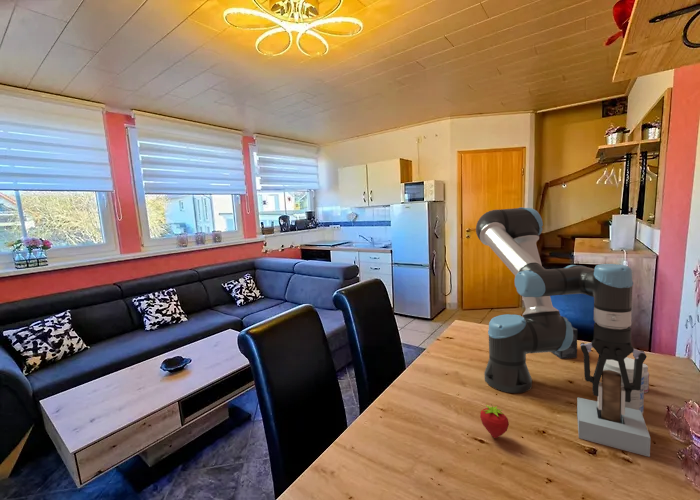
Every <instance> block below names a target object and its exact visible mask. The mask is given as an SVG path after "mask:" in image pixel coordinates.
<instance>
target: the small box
mask: <svg viewBox="0 0 700 500" xmlns="http://www.w3.org/2000/svg"><path fill="white" fill-rule="evenodd" d="M572 329H573V341H572V343H571V345H570V347H569V348H568V349H566V350H563V351H557V352H551V353H552V354H553V355H554V356H556V357H558V358H559V359H561V360H563V359H564V360H565V359H577V358H578V328H575V327H574V326H572Z"/></svg>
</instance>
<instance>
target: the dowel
mask: <svg viewBox="0 0 700 500" xmlns="http://www.w3.org/2000/svg"><path fill="white" fill-rule="evenodd" d="M601 383H602V410H601V419H603V420H608V421H612V422H616V423H620V419H621V374H619V373H617V372H615V371H611V370H603V372H602V375H601Z"/></svg>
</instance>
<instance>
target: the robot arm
mask: <svg viewBox="0 0 700 500" xmlns="http://www.w3.org/2000/svg"><path fill="white" fill-rule="evenodd" d="M543 226H544V223H543V219H542V216H541V214H540V213H539V211H537V210H536V209H534V208H532V207H516V208H505V209H504V208H503V209H491V210H489V211H486V212H485V213H483V214H482V215H481V216H480V218H479V219H478V221H477V223H476V225H475V234H476V236H477V238H478V240H479V241H480V242H481V243H482V245H484V246H488V247H489V248H490V249H491V250H492V251H493V252H494V254H495V255H496V256H497V257H498V258H499V259H500V261H502V263H503V264H504V265H505V266H506V268H508V270H509V271H510V272H511V273H512V274H513V275H514V287H515V288H516V292H517V294H518V295H520V296H521V297H522V299H523V304H524V307H525V310H524V312H523V313H522V316H521V315H520V314H519V315H518V314H509V313H508V314H507V313H505V314H500V315H497V316H494V317H492V318H491V319H490V321H489V322H488V330H487V335H488V354H489V356H488V357H489V359H488V362H487V363H486V364H487V365H486V367H485V369H484V374H483V375H484V381H485V383H486V382H487V383H488V384H489V385H488V384H487V383H486V384H487V385H488V386H490V387H491V386H492V387H491V388H493V387H494V388H493V389H495V388H496V389H495V390H497V389H498V390H497V391H500V390H501V392H505V393H509V394H510V393H511V394H521V393H522V394H523V393H526V392H528V391H530V390H531V389H532V387H533V382H532V381H533V379H532V377H531V373H530V370H529V368H528V365H527V363H526V362H527V359H526V357H527V354H540V353H541V354H542V353H552V352H557V351H563V350H566V349H568V348H569V347H570V345H571V343H572V341H573V329H572V327H573V325H572V323H571V322H570V321H569V319H568V318H567V317H565V316H563V315H561V313H560V310H559V309H557V308H556V307H554V306H553V303H552V298H551V297H552V296H564V295H565V296H566V295H567V296H568V295H580V294H581V295H587V296H589V297H592V298H593V302H594V303H593V321H594V324H593V338H592V340H591V342H587V343H584V342H580V350H581V352H582V353H583V369H584V371H583V373H584V380H585V381H586V382H588V383H591V384H592V394H593V396H595V397H597V402H598V409H599V410H602V381H601V379H602V372H603V368H604V365H605V363H606V360H615V361H618V364H619V368H620V372H621V376H622V380H623V384H624V386H621V414H622V415H625V402H629V403H630V401H631V392H632V390H637V391H639V390H640V389H641V379H642V367H643V363H644V362H645V360H646V359H647V354H646V353H645V351H644V350H641V349H640V350H639V349H637V348H634V346H633V345H632V328H631V326H632V311H633V310H632V309H633V308H632V307H633V306H632V305H633V285H634V281H633V271H632V268H631V267H630V266H628V265H625V264H616V263H601V264H597V265H595V267H594V268H592V267H587V266H585V265H580V264H579V265H578V264H577V265H576V264H570V265H567V266H565V267H563V268H551V269H550V268H549V269H546V268H544V267H543V266H542V261H541V257H540V253H539V249H538V246H537V242H538V241H539V240H540V235H541V234H542V232H543V229H544V228H543ZM592 348H593V350H595V352H596V353H597V354H598V358H597V362H596V365H595V369H594V372H593V376H592V375H591V365H590V363H591V362H590V360H591V358H590V353H591V352H592ZM631 354H632V356H633V359H634V373H633V383H629V379H628V375H627V370H626V366H625V362H624V359H625V358H626V357H629V356H630V355H631Z"/></svg>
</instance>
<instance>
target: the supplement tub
mask: <svg viewBox="0 0 700 500" xmlns="http://www.w3.org/2000/svg"><path fill="white" fill-rule="evenodd" d="M634 360H635V358H631V357H629V356H627V357H626V358H625V359H624V362H625V366H626V370H627V375H628V379H629V383H633V373H634ZM603 370H611V371H615V372H617V373H619V374H621V372H620V368H619V364H618V361H615V360H606V363H605V365H604V368H603ZM621 386H624V384H623V380H622V376H621ZM644 397H645V393H644V368H643V367H642V379H641V389H640V390H639V391H637V390H632V392H631V401H630V403H629V402H625V407H626V408H631V409H636V410H640V411H641V413H642V415H644V406H645V405H644V403H645V402H644V401H645V400H644V399H645V398H644Z"/></svg>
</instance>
